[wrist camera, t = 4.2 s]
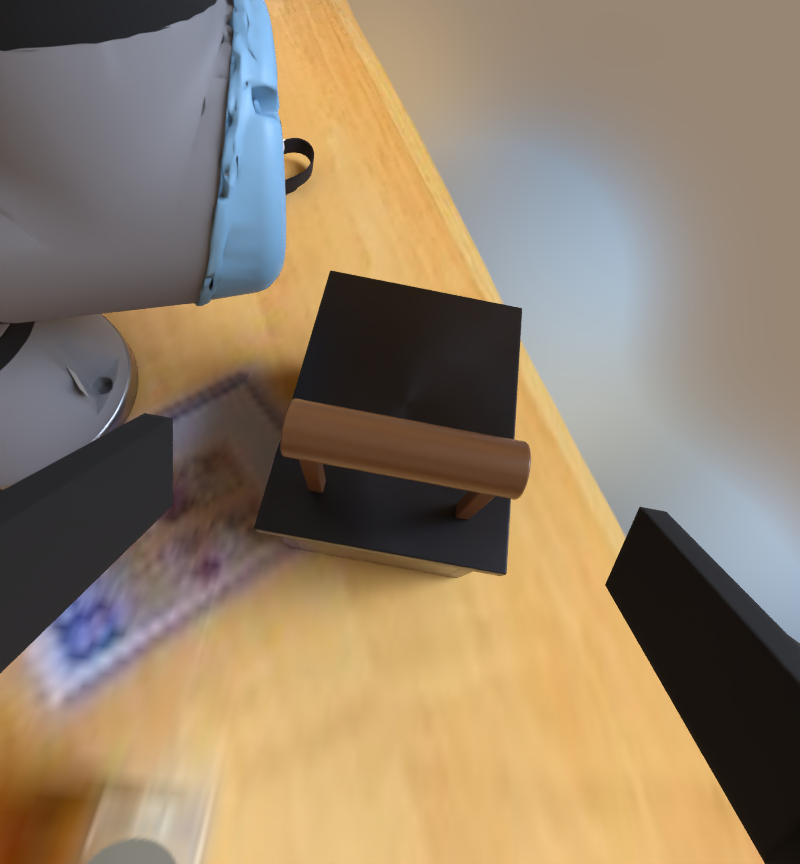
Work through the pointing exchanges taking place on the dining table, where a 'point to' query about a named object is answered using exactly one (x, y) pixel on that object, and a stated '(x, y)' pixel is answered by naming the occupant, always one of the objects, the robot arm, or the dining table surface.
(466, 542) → the bacon press
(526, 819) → the dining table surface
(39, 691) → the dining table surface
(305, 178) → the watch
